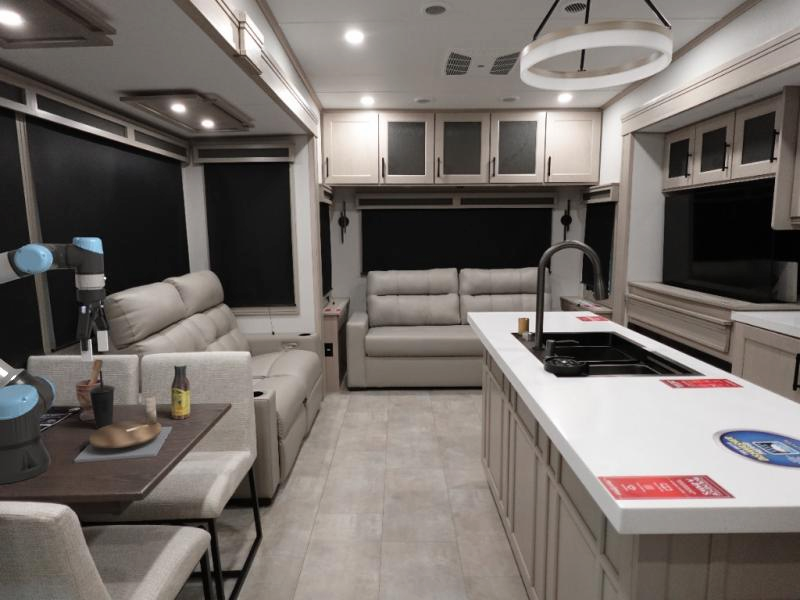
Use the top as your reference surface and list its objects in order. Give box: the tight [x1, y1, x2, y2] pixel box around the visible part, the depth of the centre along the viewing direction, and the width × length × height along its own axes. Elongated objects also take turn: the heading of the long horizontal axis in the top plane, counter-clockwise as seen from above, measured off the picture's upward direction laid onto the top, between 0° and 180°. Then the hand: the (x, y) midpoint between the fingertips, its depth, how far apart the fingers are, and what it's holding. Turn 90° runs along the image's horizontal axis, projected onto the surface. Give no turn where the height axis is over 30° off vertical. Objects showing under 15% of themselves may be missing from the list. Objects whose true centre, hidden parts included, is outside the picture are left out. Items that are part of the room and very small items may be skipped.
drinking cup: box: [89, 370, 116, 430], centre depth 172 cm, size 8×8×20 cm
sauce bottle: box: [170, 362, 191, 420], centre depth 182 cm, size 6×6×20 cm
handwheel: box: [89, 395, 162, 448], centre depth 158 cm, size 20×20×12 cm
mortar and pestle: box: [75, 359, 105, 422], centre depth 182 cm, size 12×9×20 cm
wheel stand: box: [73, 426, 173, 464], centre depth 159 cm, size 22×22×1 cm
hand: (95, 355), depth 156 cm, fingers open, 13 cm apart
